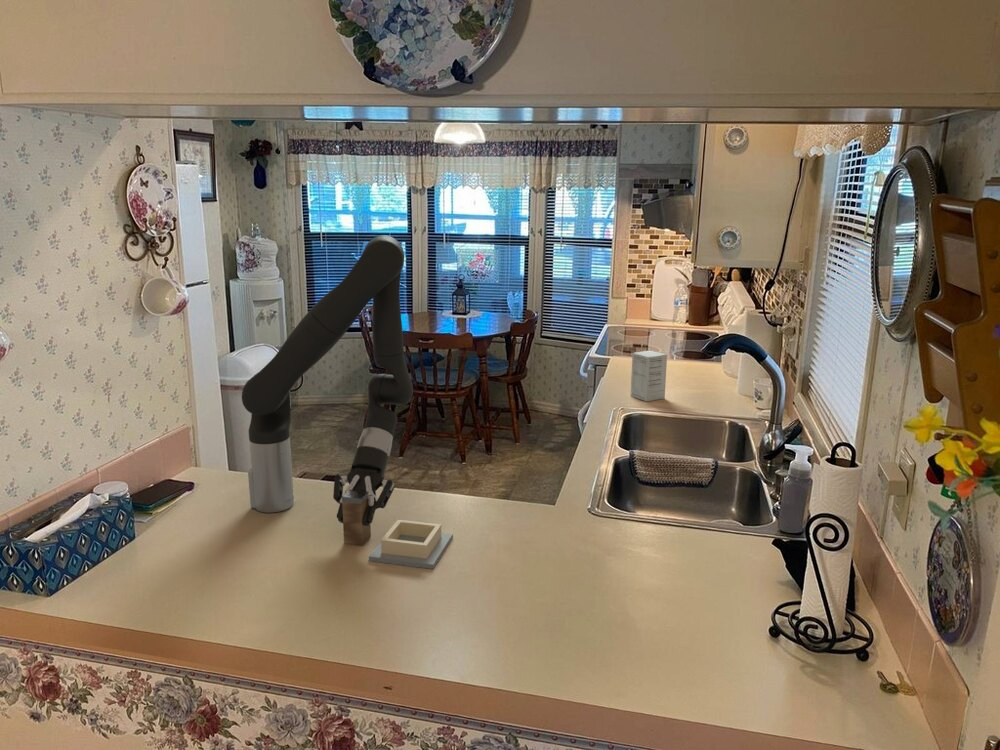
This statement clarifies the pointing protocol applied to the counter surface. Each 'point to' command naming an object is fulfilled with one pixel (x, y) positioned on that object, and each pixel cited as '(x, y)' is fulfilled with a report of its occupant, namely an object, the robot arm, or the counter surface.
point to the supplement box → (648, 375)
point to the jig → (412, 544)
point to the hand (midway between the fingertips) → (353, 522)
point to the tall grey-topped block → (355, 517)
